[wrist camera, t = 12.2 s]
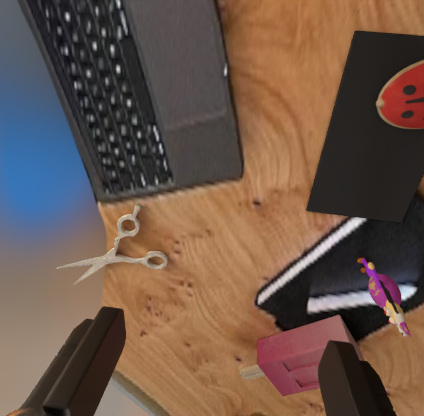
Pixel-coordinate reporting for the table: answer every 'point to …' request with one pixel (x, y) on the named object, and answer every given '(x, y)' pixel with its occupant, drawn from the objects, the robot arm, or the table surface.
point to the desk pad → (370, 136)
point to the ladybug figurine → (404, 98)
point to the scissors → (113, 257)
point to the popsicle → (297, 355)
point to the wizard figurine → (385, 296)
